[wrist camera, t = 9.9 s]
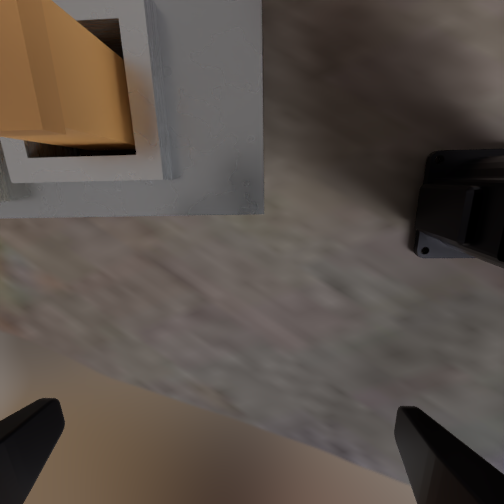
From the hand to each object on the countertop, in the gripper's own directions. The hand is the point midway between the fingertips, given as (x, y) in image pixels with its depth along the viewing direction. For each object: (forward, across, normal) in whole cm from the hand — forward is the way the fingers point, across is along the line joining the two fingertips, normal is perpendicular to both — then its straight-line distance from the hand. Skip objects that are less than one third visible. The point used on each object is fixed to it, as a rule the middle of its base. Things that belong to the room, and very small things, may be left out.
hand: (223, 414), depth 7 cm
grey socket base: (+12, +8, -10) cm, 18 cm away
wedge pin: (+12, +8, -10) cm, 17 cm away
